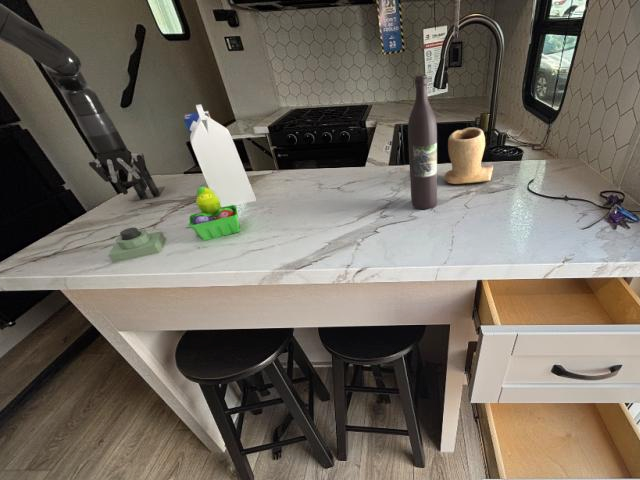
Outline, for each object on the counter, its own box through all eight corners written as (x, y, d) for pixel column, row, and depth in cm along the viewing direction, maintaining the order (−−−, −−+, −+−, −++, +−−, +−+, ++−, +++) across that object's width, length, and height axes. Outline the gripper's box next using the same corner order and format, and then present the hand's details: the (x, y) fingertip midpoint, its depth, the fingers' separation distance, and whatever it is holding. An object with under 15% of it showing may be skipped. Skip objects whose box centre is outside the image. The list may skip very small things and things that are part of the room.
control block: (113, 262, 80) (102, 248, 77) (122, 247, 86) (113, 233, 83) (159, 253, 82) (150, 238, 80) (165, 238, 88) (157, 224, 86)
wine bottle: (412, 210, 91) (405, 78, 72) (410, 200, 96) (404, 75, 77) (438, 208, 91) (438, 76, 72) (435, 198, 96) (435, 72, 77)
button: (122, 242, 80) (117, 235, 79) (126, 235, 83) (122, 229, 82) (138, 238, 81) (134, 232, 80) (142, 232, 83) (138, 226, 82)
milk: (256, 200, 104) (223, 105, 88) (217, 210, 101) (174, 112, 84) (251, 189, 113) (219, 100, 96) (215, 197, 109) (175, 106, 93)
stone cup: (445, 190, 100) (446, 135, 91) (443, 176, 110) (444, 125, 100) (497, 187, 99) (503, 132, 90) (491, 173, 108) (496, 122, 99)
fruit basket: (198, 244, 84) (175, 201, 77) (198, 230, 90) (177, 189, 83) (245, 232, 87) (228, 190, 80) (242, 220, 94) (226, 179, 87)
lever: (141, 186, 103) (136, 179, 101) (124, 189, 102) (119, 182, 100) (142, 162, 109) (137, 156, 107) (126, 165, 108) (122, 158, 106)
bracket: (160, 199, 111) (139, 159, 103) (133, 204, 109) (109, 164, 101) (166, 189, 119) (146, 151, 110) (141, 194, 117) (119, 155, 109)
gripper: (133, 125, 98) (163, 183, 108) (76, 132, 94) (112, 192, 105) (126, 130, 92) (158, 191, 103) (65, 138, 89) (105, 200, 99)
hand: (135, 191), depth 104 cm, fingers closed on lever, 4 cm apart
